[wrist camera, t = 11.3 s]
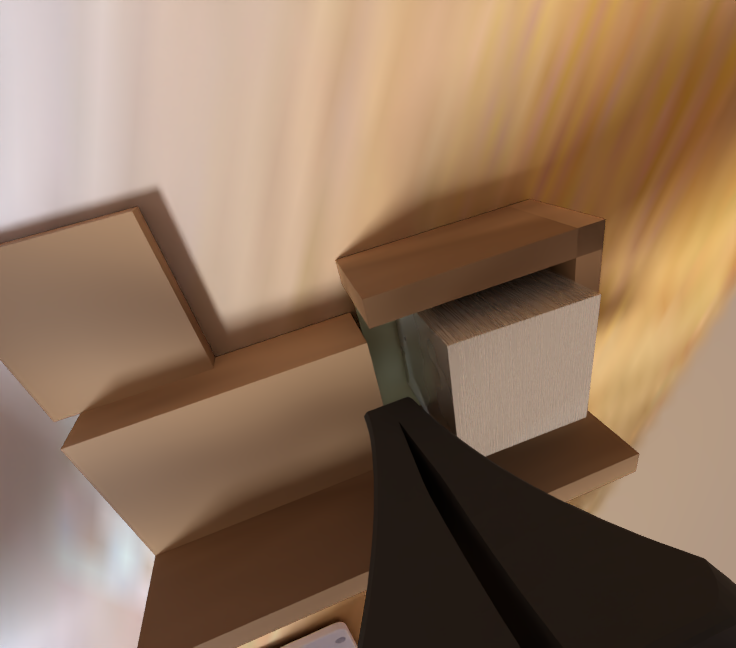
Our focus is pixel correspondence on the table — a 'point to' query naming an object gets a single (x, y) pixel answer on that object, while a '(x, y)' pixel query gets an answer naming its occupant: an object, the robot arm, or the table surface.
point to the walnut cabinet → (262, 407)
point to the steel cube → (504, 359)
